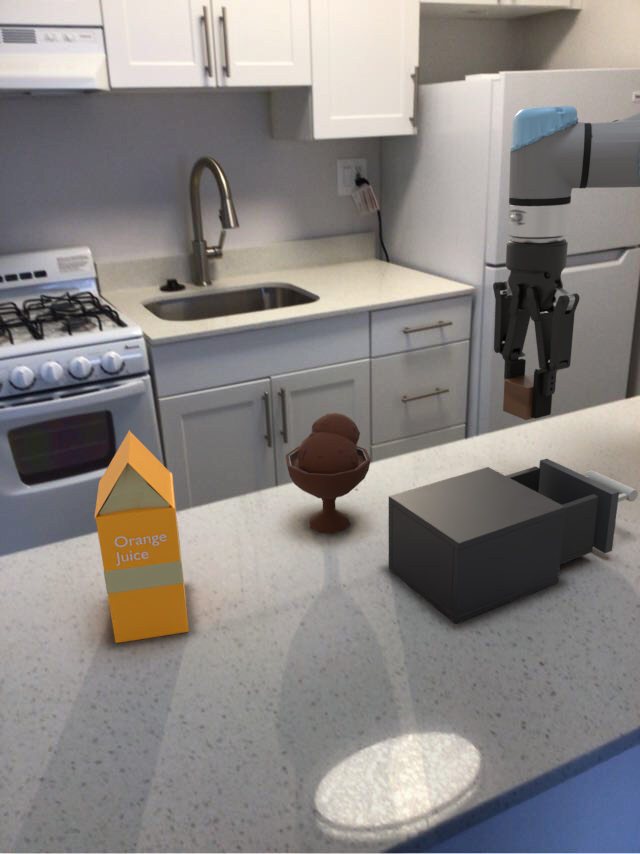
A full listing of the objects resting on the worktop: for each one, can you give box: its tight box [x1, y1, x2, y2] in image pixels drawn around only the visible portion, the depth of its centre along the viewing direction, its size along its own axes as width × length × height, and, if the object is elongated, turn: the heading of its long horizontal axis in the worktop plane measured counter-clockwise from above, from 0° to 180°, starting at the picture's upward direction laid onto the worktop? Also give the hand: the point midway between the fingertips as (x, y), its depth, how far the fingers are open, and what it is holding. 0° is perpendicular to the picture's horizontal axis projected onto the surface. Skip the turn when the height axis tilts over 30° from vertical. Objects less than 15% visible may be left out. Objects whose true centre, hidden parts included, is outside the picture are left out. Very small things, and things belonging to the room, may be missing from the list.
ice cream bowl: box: [284, 412, 372, 534], centre depth 98 cm, size 11×11×15 cm
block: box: [502, 373, 553, 421], centre depth 104 cm, size 5×5×5 cm
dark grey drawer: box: [505, 458, 639, 565], centre depth 91 cm, size 20×11×8 cm, turn 119°
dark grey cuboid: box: [388, 466, 565, 624], centre depth 86 cm, size 15×13×10 cm
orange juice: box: [93, 429, 190, 644], centre depth 79 cm, size 8×9×20 cm
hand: (527, 410), depth 105 cm, fingers closed on block, 5 cm apart
